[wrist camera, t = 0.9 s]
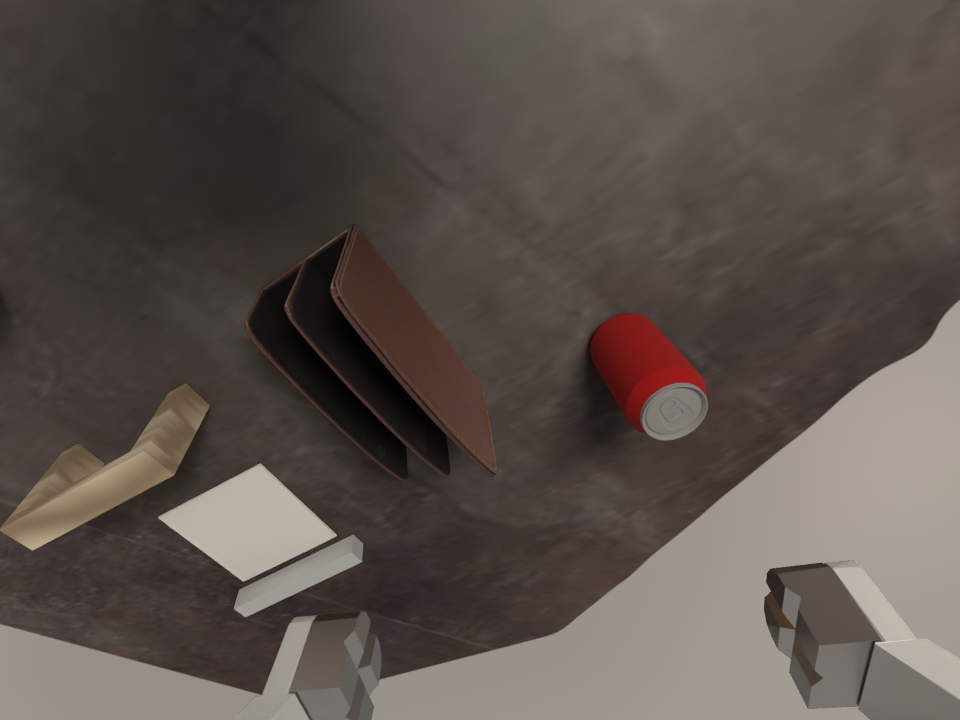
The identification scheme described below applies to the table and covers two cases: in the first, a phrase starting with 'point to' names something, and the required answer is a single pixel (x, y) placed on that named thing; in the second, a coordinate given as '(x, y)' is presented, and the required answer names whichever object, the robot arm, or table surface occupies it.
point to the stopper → (299, 576)
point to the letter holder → (371, 358)
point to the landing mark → (249, 523)
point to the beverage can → (649, 377)
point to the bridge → (107, 474)
